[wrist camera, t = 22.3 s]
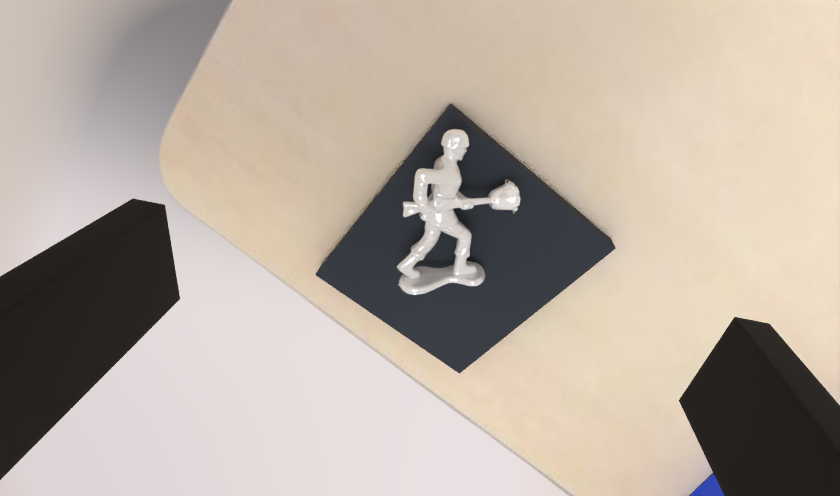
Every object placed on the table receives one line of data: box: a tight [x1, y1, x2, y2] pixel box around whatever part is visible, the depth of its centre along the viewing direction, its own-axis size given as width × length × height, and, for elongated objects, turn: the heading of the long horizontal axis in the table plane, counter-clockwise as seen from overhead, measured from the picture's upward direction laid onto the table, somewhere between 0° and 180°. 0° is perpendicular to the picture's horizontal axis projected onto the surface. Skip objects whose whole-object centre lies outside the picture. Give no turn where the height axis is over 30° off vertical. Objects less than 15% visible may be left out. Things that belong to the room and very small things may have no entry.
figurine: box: [397, 129, 520, 295], centre depth 33 cm, size 5×9×12 cm
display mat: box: [316, 104, 615, 373], centre depth 38 cm, size 17×19×2 cm
